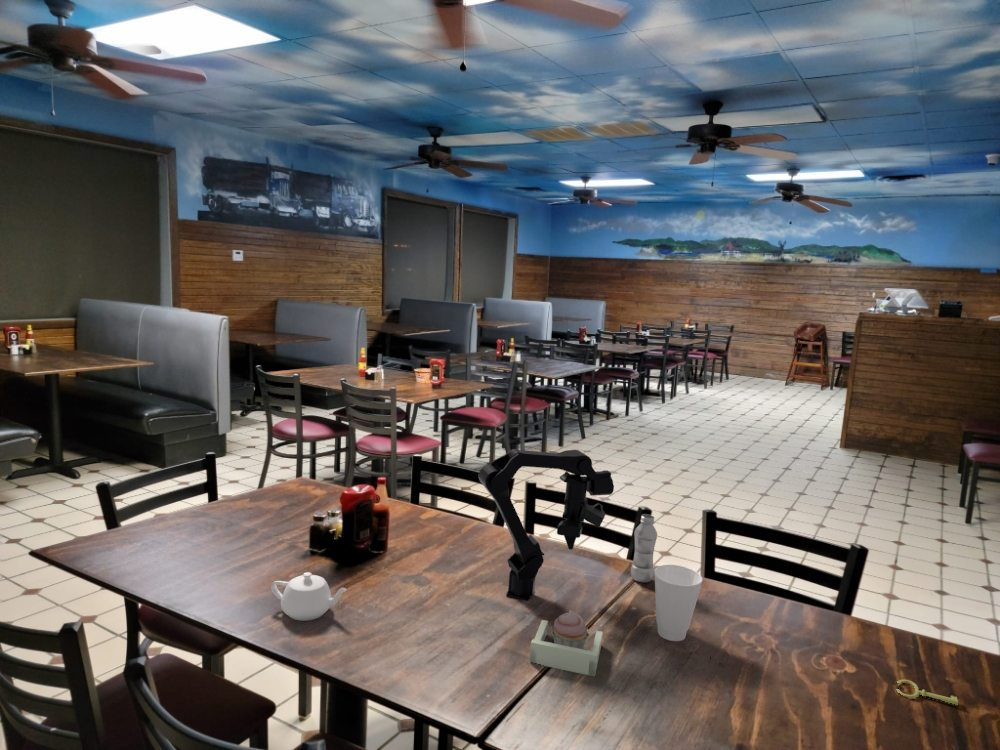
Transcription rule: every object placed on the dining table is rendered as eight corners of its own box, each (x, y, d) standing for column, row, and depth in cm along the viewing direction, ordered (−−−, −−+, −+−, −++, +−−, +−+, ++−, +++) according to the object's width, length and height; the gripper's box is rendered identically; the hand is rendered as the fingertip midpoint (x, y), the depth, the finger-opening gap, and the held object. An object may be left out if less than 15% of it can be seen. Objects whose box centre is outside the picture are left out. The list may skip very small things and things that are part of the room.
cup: (696, 628, 173) (703, 570, 171) (694, 651, 162) (701, 589, 160) (650, 617, 177) (656, 560, 175) (644, 639, 166) (651, 579, 163)
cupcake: (564, 634, 166) (568, 597, 164) (595, 651, 159) (599, 612, 158) (540, 648, 159) (543, 609, 158) (571, 665, 153) (574, 625, 151)
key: (960, 711, 147) (962, 702, 146) (898, 699, 149) (900, 691, 149) (947, 691, 154) (948, 683, 153) (888, 681, 156) (889, 672, 156)
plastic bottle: (652, 586, 195) (660, 521, 192) (629, 583, 196) (636, 518, 193) (652, 577, 201) (659, 514, 198) (629, 573, 202) (636, 511, 199)
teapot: (355, 606, 172) (356, 569, 171) (334, 631, 160) (335, 591, 159) (284, 594, 176) (284, 558, 174) (258, 617, 164) (259, 578, 162)
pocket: (529, 662, 153) (531, 642, 152) (540, 632, 166) (542, 614, 165) (594, 676, 149) (596, 655, 148) (601, 645, 162) (603, 626, 161)
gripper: (600, 511, 175) (595, 567, 177) (607, 490, 193) (602, 541, 195) (559, 504, 178) (554, 560, 180) (569, 484, 195) (565, 535, 198)
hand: (570, 548), depth 188 cm, fingers closed
